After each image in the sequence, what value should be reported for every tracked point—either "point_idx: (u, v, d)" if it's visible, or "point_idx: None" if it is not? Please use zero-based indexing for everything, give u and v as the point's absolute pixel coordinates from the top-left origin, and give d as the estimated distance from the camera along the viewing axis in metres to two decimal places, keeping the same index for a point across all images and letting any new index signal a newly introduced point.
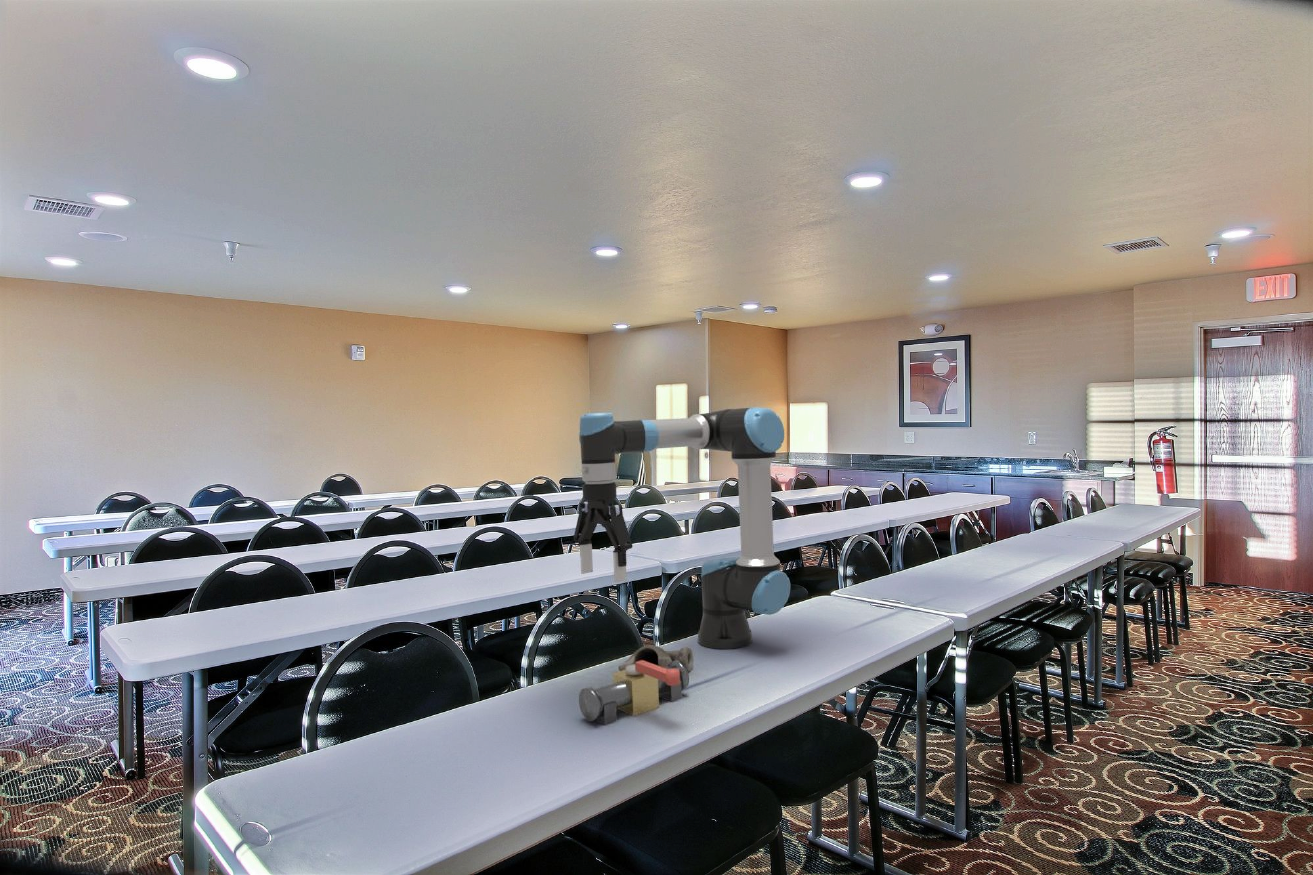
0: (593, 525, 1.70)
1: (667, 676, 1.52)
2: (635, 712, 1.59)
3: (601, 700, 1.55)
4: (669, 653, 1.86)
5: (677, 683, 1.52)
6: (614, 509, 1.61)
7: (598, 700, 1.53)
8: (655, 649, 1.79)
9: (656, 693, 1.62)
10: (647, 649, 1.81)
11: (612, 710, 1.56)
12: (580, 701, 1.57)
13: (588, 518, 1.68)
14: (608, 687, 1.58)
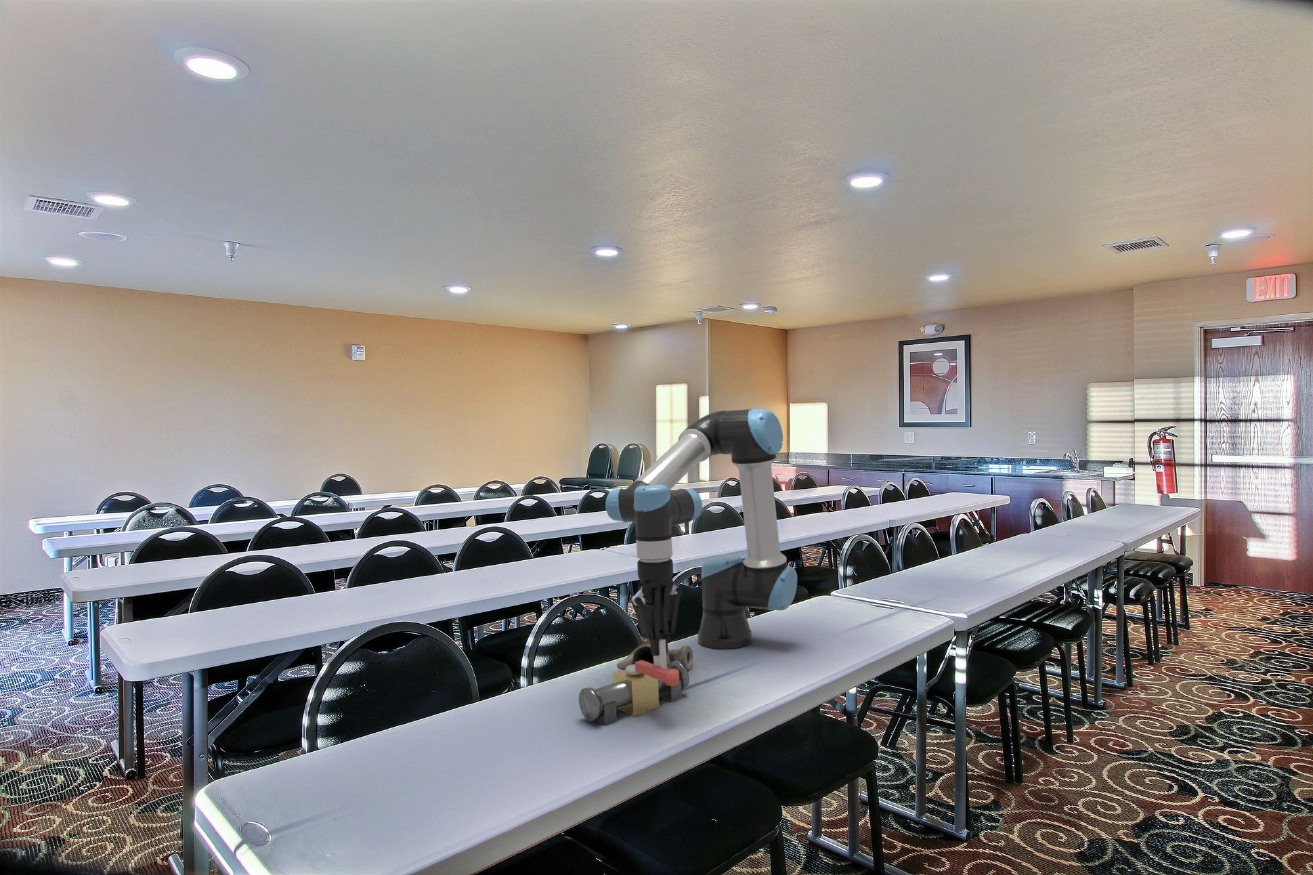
0: (660, 608, 1.58)
1: (666, 676, 1.52)
2: (635, 712, 1.59)
3: (601, 700, 1.55)
4: (669, 652, 1.87)
5: (676, 683, 1.52)
6: (631, 601, 1.55)
7: (598, 700, 1.53)
8: None
9: (656, 693, 1.62)
10: (646, 648, 1.82)
11: (612, 710, 1.56)
12: (580, 701, 1.57)
13: None
14: (608, 687, 1.58)
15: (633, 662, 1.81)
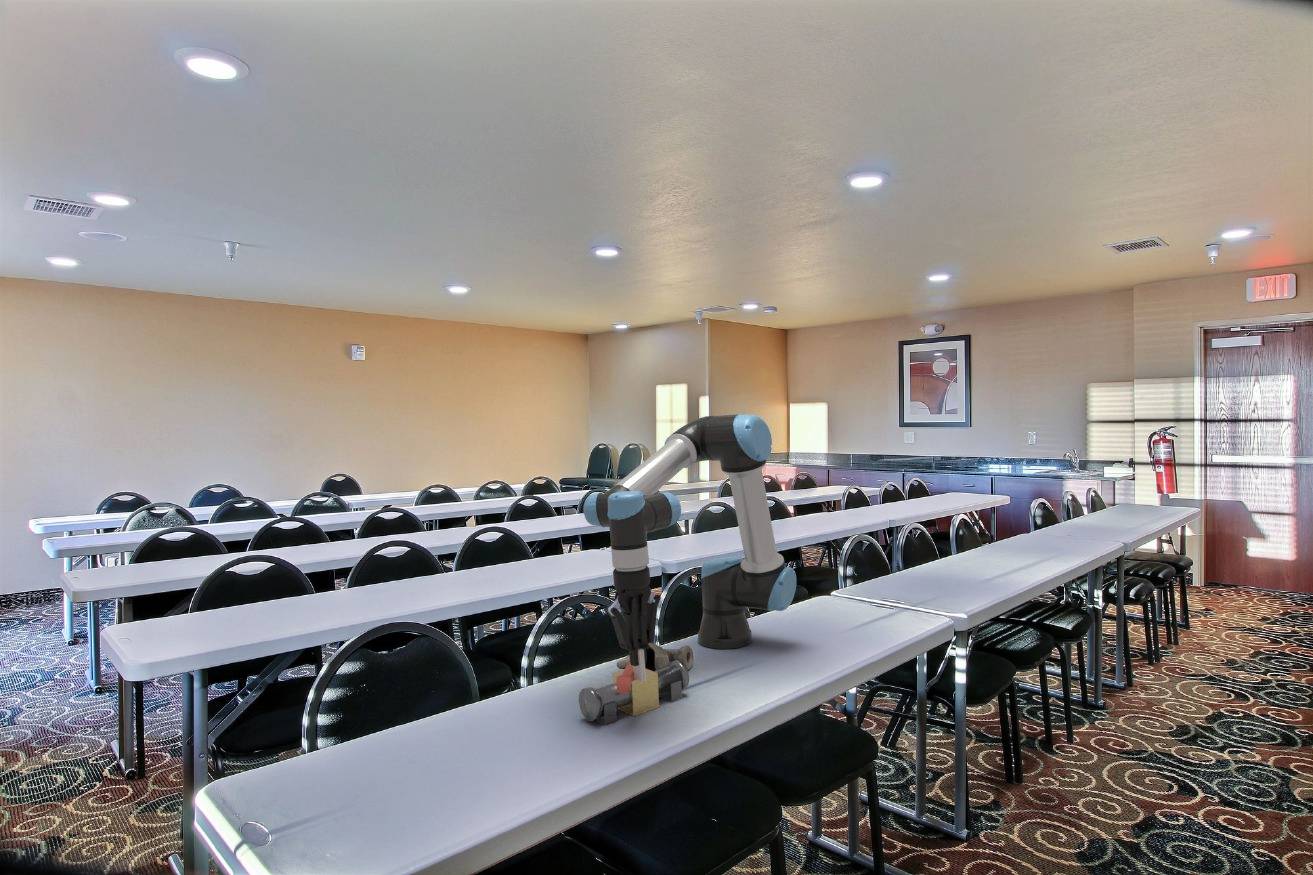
0: (638, 617, 1.54)
1: None
2: (635, 712, 1.59)
3: (601, 700, 1.55)
4: (669, 651, 1.87)
5: (622, 691, 1.49)
6: (608, 612, 1.51)
7: (598, 700, 1.53)
8: (653, 647, 1.81)
9: (656, 693, 1.62)
10: None
11: (612, 710, 1.56)
12: (580, 701, 1.57)
13: None
14: (608, 687, 1.58)
15: None
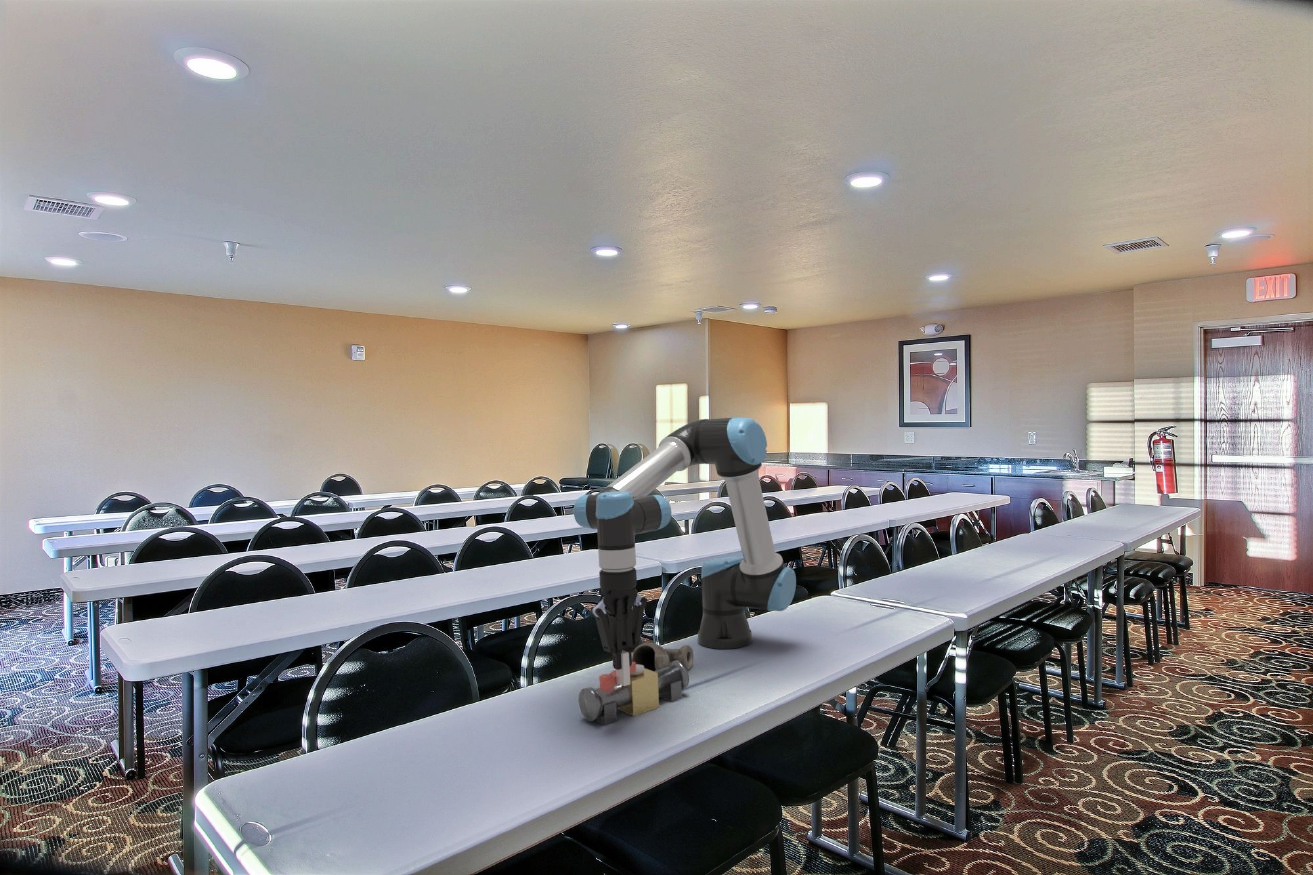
0: (623, 619, 1.52)
1: None
2: (635, 712, 1.59)
3: (601, 700, 1.55)
4: (669, 651, 1.87)
5: (603, 689, 1.50)
6: (592, 612, 1.49)
7: (598, 700, 1.53)
8: (653, 646, 1.81)
9: (656, 693, 1.62)
10: (646, 647, 1.83)
11: (612, 710, 1.56)
12: (580, 701, 1.57)
13: None
14: None
15: (633, 661, 1.82)
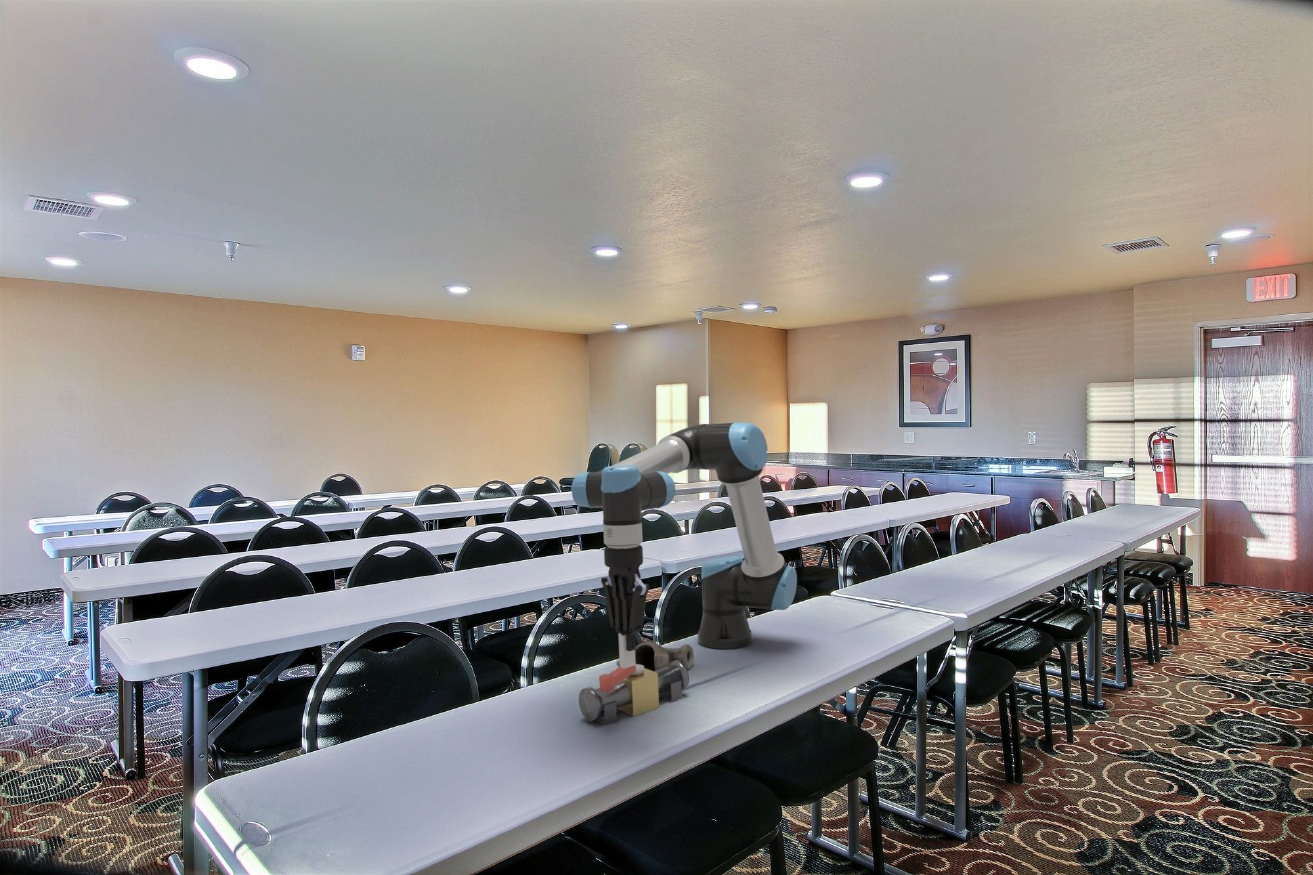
0: None
1: None
2: (635, 712, 1.59)
3: (601, 700, 1.55)
4: (669, 650, 1.88)
5: (603, 689, 1.50)
6: (640, 591, 1.40)
7: (598, 700, 1.53)
8: (652, 646, 1.82)
9: (656, 693, 1.62)
10: (646, 646, 1.84)
11: (612, 710, 1.56)
12: (580, 701, 1.57)
13: (614, 589, 1.45)
14: None
15: None
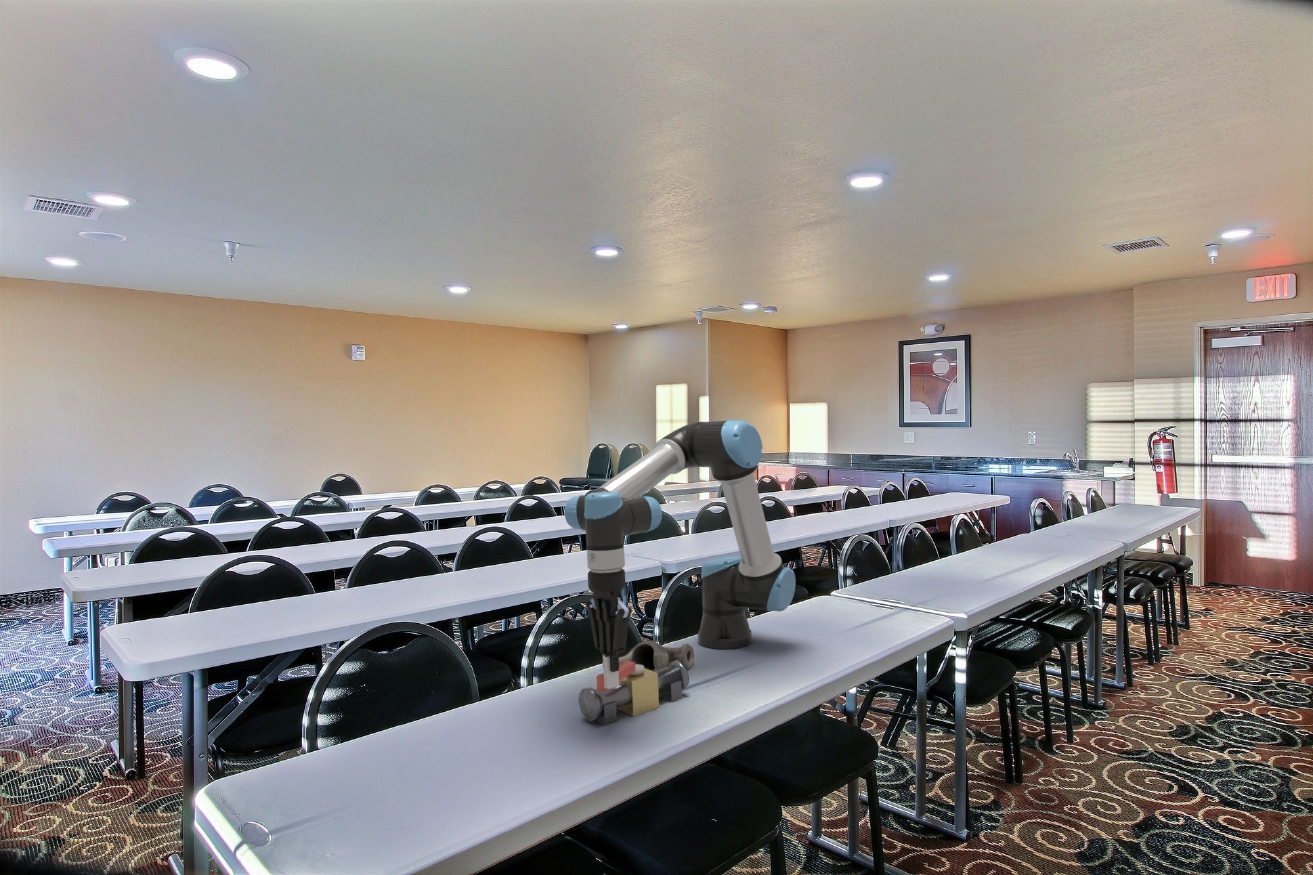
0: None
1: None
2: (635, 712, 1.59)
3: (601, 700, 1.55)
4: (669, 649, 1.89)
5: (600, 689, 1.50)
6: (622, 614, 1.45)
7: (598, 700, 1.53)
8: (652, 645, 1.82)
9: (656, 693, 1.62)
10: (646, 645, 1.85)
11: (612, 710, 1.56)
12: (580, 701, 1.57)
13: (598, 612, 1.50)
14: None
15: (632, 659, 1.83)
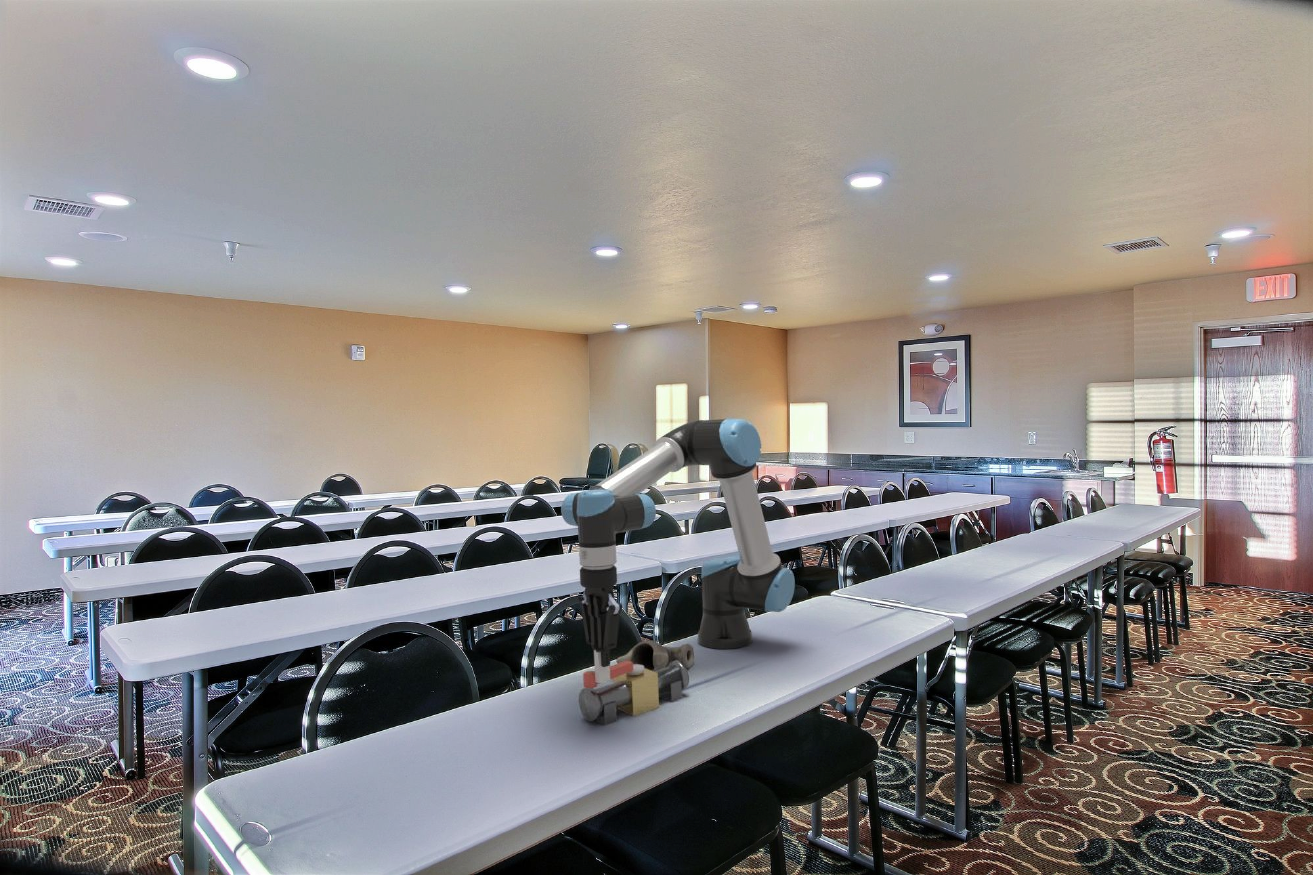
0: None
1: None
2: (635, 712, 1.59)
3: (601, 700, 1.55)
4: (669, 649, 1.89)
5: (585, 686, 1.52)
6: (613, 611, 1.47)
7: (598, 700, 1.53)
8: (652, 644, 1.83)
9: (656, 693, 1.62)
10: (646, 644, 1.85)
11: (612, 710, 1.56)
12: (580, 701, 1.57)
13: (589, 607, 1.52)
14: (608, 687, 1.58)
15: (632, 658, 1.84)
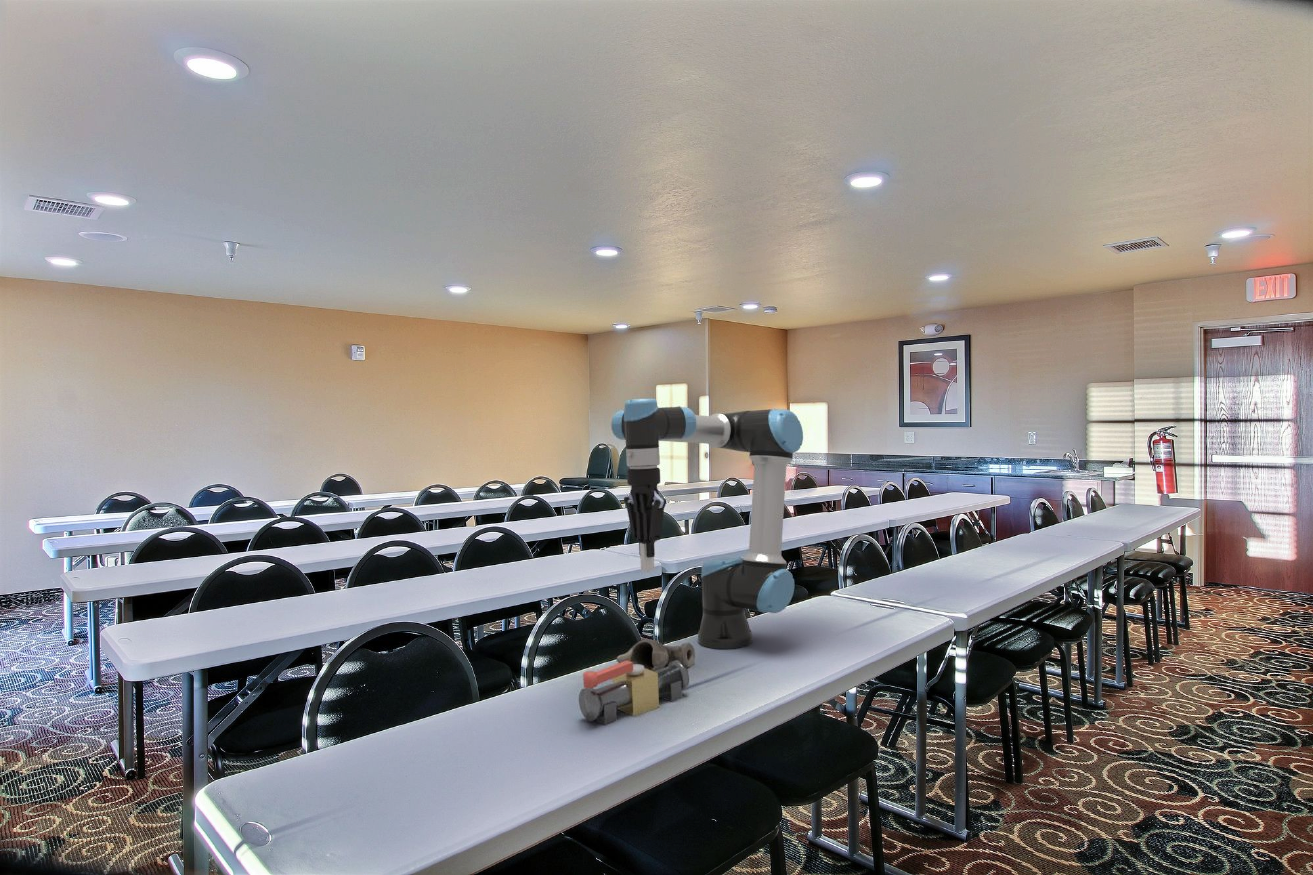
0: None
1: None
2: (635, 712, 1.59)
3: (601, 700, 1.55)
4: (670, 648, 1.90)
5: (585, 686, 1.52)
6: (658, 504, 1.64)
7: (598, 700, 1.53)
8: (651, 643, 1.84)
9: (656, 693, 1.62)
10: (646, 643, 1.86)
11: (612, 710, 1.56)
12: (580, 701, 1.57)
13: (636, 505, 1.69)
14: (608, 687, 1.58)
15: (632, 657, 1.85)
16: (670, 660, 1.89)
